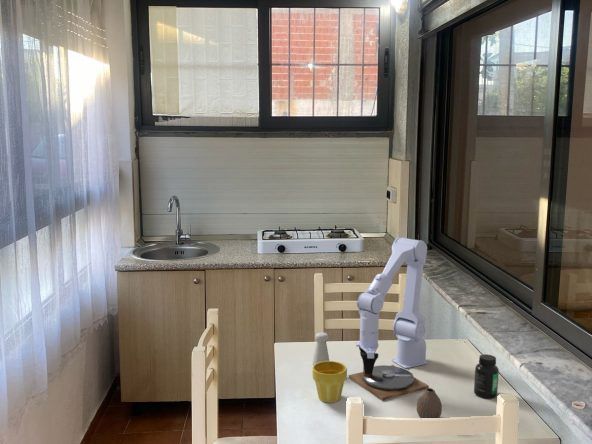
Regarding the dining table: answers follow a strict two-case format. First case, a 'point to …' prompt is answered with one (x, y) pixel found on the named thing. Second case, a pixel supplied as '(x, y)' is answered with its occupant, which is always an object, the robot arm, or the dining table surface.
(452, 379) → the dining table surface
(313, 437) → the dining table surface
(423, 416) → the vase
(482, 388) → the supplement bottle
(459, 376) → the dining table surface
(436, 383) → the dining table surface
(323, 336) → the salt shaker
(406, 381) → the crank wheel
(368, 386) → the base
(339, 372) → the plant pot
